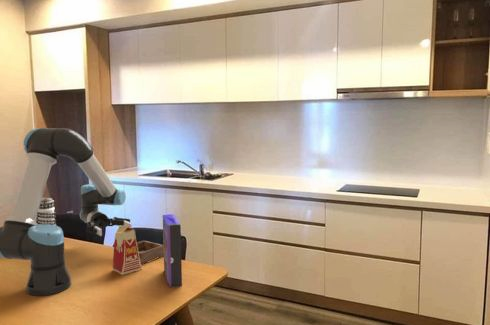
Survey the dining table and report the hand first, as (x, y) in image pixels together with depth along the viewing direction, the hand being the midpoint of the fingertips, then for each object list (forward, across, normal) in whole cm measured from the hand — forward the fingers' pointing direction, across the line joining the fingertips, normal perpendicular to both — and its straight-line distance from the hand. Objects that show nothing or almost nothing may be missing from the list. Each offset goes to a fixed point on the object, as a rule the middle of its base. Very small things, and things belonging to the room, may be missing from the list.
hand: (116, 229), depth 176 cm
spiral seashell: (-42, +18, -16) cm, 48 cm away
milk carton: (+10, +1, -15) cm, 18 cm away
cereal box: (+31, -9, -15) cm, 36 cm away
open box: (+1, -12, -15) cm, 19 cm away
